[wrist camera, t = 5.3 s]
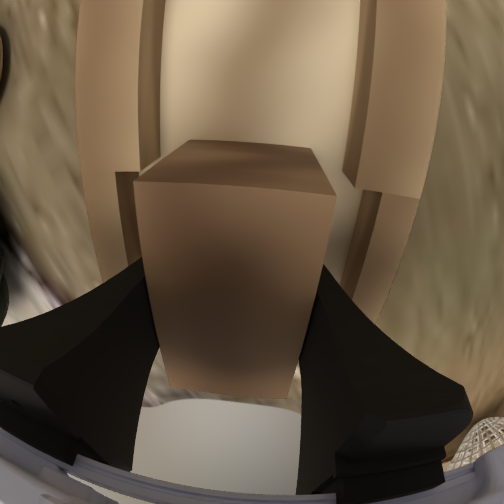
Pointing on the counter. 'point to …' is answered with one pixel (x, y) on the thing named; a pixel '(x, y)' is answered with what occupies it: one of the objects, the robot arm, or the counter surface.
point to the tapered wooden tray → (266, 110)
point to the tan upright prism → (233, 261)
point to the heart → (473, 432)
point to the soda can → (1, 56)
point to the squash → (3, 290)
